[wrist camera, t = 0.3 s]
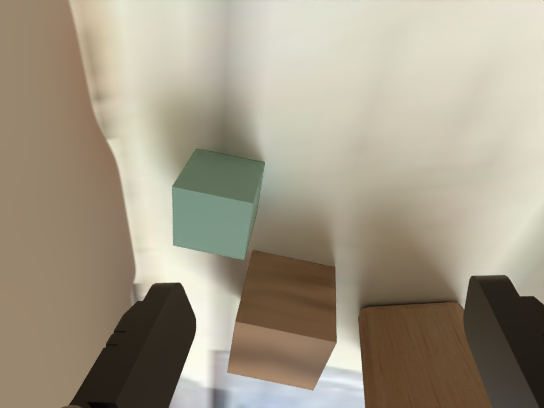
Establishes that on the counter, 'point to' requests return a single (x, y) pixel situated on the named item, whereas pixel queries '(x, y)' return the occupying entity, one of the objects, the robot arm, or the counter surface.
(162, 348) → the robot arm
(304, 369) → the walnut block
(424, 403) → the block
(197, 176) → the teal cube
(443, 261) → the counter surface
